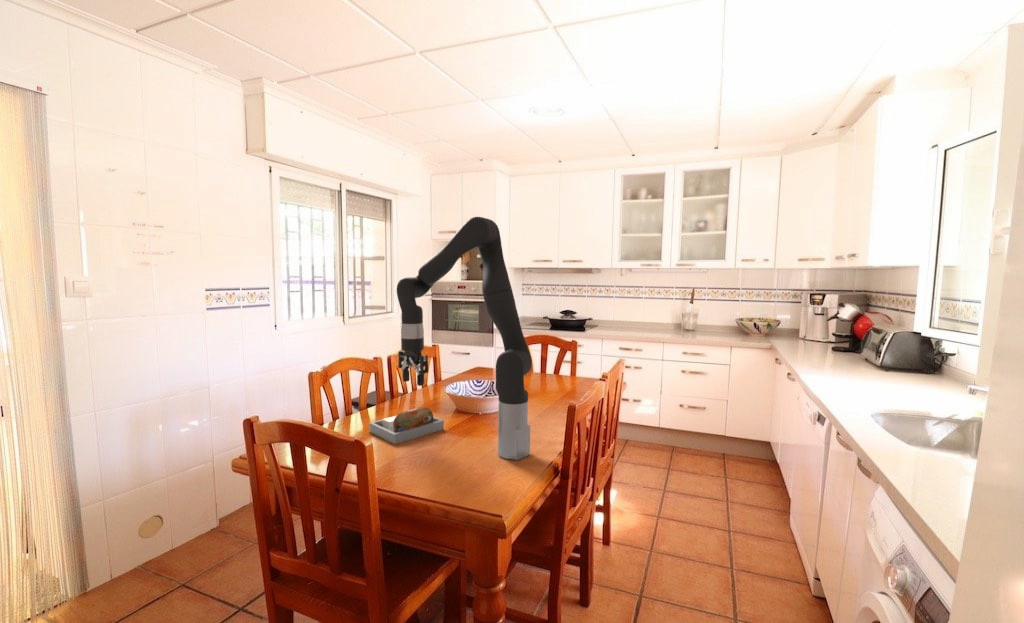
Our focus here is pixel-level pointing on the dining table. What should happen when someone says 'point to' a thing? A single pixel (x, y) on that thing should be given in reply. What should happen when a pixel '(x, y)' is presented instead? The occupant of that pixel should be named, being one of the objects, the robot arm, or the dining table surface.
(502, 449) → the robot arm
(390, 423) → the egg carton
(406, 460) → the dining table surface
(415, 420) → the tin
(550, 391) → the dining table surface
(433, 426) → the tray
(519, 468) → the dining table surface
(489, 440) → the dining table surface
